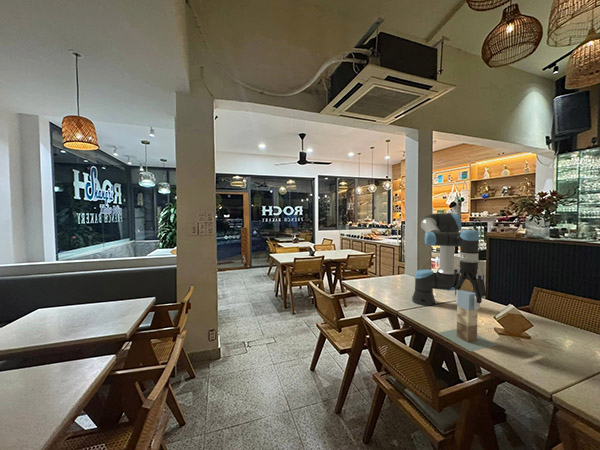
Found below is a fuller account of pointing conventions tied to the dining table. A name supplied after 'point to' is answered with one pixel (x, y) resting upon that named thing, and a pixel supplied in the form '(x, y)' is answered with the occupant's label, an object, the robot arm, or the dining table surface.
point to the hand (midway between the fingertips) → (467, 305)
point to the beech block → (467, 316)
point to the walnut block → (467, 332)
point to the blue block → (466, 299)
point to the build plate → (470, 346)
